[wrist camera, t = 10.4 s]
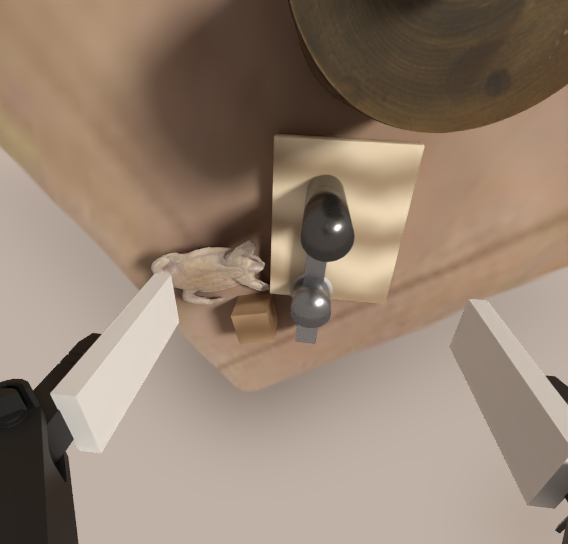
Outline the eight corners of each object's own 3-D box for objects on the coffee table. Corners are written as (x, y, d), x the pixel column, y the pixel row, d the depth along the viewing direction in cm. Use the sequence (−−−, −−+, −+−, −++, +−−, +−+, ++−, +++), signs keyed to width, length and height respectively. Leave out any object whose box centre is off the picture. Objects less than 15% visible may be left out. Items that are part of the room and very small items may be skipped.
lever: (323, 329, 41) (324, 403, 32) (289, 325, 41) (279, 397, 32) (350, 176, 31) (363, 216, 22) (305, 172, 31) (299, 209, 22)
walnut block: (238, 295, 43) (230, 316, 39) (271, 292, 42) (266, 312, 38) (246, 321, 45) (239, 344, 41) (278, 319, 44) (274, 341, 40)
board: (276, 133, 32) (273, 136, 30) (418, 142, 31) (425, 146, 29) (271, 295, 42) (269, 305, 40) (379, 305, 41) (382, 315, 39)
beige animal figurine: (258, 208, 40) (221, 209, 30) (296, 274, 40) (272, 295, 31) (170, 268, 45) (115, 285, 36) (205, 325, 45) (160, 357, 36)
